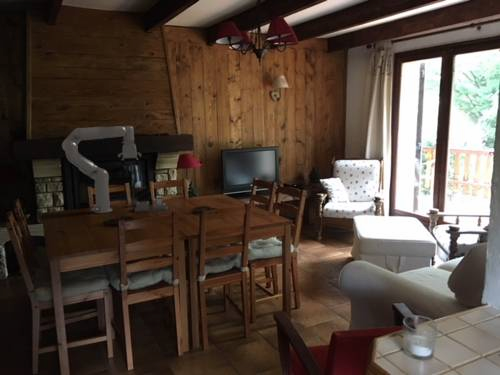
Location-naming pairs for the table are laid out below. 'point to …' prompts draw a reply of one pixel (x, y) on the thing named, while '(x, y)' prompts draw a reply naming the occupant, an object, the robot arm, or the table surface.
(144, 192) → the magazine
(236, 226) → the table surface
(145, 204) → the socket panel
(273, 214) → the table surface
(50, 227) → the table surface
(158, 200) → the plug
